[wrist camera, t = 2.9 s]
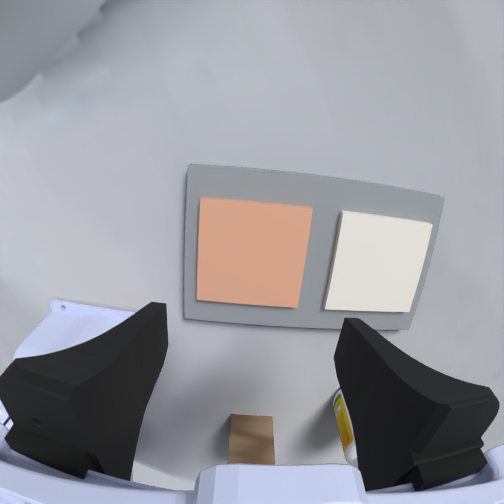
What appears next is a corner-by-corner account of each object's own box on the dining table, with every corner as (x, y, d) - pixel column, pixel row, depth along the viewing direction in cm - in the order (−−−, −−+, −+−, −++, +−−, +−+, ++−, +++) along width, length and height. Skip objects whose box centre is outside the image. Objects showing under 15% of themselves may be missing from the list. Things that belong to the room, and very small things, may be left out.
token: (229, 437, 29) (226, 482, 24) (231, 414, 28) (227, 463, 22) (267, 439, 30) (269, 484, 24) (272, 416, 28) (275, 465, 23)
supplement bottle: (365, 366, 26) (399, 448, 17) (393, 390, 27) (426, 463, 18) (320, 400, 27) (338, 483, 18) (351, 420, 29) (372, 494, 20)
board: (186, 311, 24) (183, 322, 22) (190, 163, 20) (186, 166, 19) (404, 323, 24) (411, 333, 23) (437, 195, 21) (448, 199, 19)
